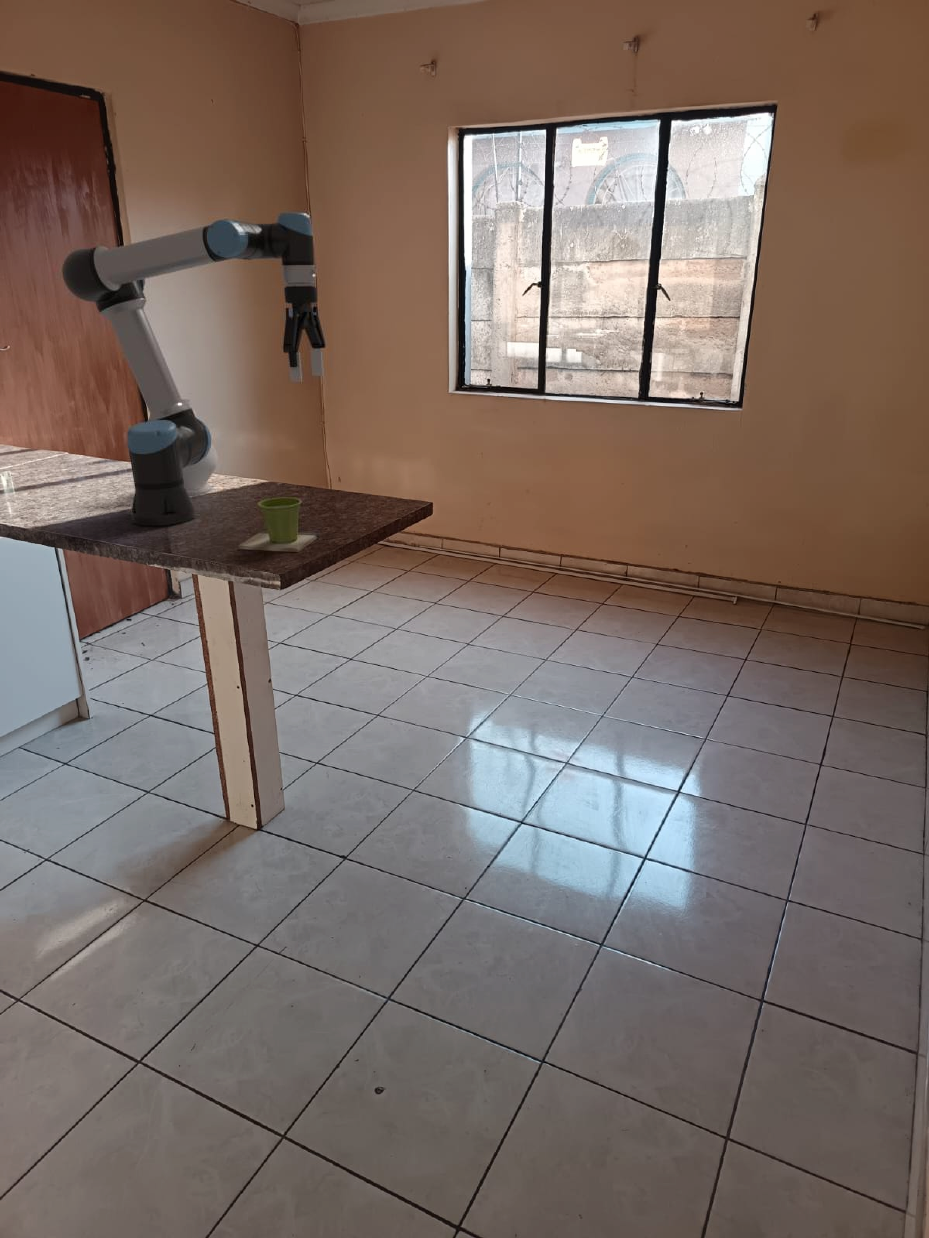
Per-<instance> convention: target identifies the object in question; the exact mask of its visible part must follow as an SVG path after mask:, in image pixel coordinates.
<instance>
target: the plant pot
mask: <svg viewBox="0 0 929 1238" xmlns="http://www.w3.org/2000/svg"><path fill="white" fill-rule="evenodd" d="M301 504H302V500H301V499H300V498H296V497H288V496H287V497H283V496H282V497H275V498H272V497H271V498H268V499H263V500H261V501H259V502H258V503H257V506H258V507H260V510H261V513H262V514H263V517H264V518H263V519H264V521H265V522H264V523H265V526H266V531H268V535H269V538H270V541H271V542H274V541H275V542H277V543H288V542H291V541H292V540H297V538H298V532H299V530H298V529H299V510H300V508H301V506H300V505H301Z"/></svg>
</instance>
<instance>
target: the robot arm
mask: <svg viewBox="0 0 929 1238" xmlns="http://www.w3.org/2000/svg"><path fill="white" fill-rule="evenodd" d="M314 250H315V249H314V234H313V228H312V220H311V216H310V215H309V214H308V213H305V212H282V213H279V214H278V216H277V222H273V223H252V222H245V221H240V220H235V219H230V218H224V219H223V218H222V219H218V220H215V221H213V222H212V223H211V224H209V225H204V226H201V227H197V228H193V229H191V228H190V229H188V230H187V229H186V230H184V231H181V232H180V231H179V232H176V233H172V234H170V233H169V234H167V235H162V236H158V237H154V238H150V239H146V240H142V241H138V242H133V243H130V244H125V245H120V246H117V247H113V248H108V247H106V246H103V245H100V246H96V247H91V248H81V249H80V248H79V249H75V250H74V251H72V252H71V253H69V254H68V255H67V256H66V257H65V259H64V261H63V263H62V268H61V272H62V273H61V275H62V279H63V282H64V284H65V286H66V288H67V289H68V290H69V291H70V292H71V293H72V294H73V295H74V296H75V297H77V298H78V299H79V300H83V301H86V302H91V303H93V302H94V303H95V306H96V308H97V310H98V312H99V315H100V316H102V317H104V318H106V319H108V320H109V323H111V327H112V329H113V331H114V333H115V335H116V337H117V340H118V342H119V345H120V347H121V350H122V351H123V354H124V357H125V358H126V361H127V363H128V366H129V368H130V370H131V372H132V375H133V376H134V379H135V382H136V385H137V386H138V388H139V390H140V393H141V395H142V398H143V400H144V403H145V404H146V407H147V410H148V411H149V412H148V413H149V418H148V420H147V421H144V422H140V423H139V422H138V423H136V424H134V425H133V426H131V427H129V429H128V430H127V433H126V437H127V439H126V440H127V442H126V443H127V444H126V445H127V446H126V447H127V449H128V453H129V454H128V455H129V459H130V460H129V461H130V466H131V473H132V478H133V485H134V497H133V501H132V505H131V506H132V507H131V519H132V522H133V523H134V524H135V525H138V526H144V527H159V526H160V527H161V526H163V527H164V526H171V525H176V524H181V523H186V522H188V521H191V520H193V519H195V517H196V515H197V514H196V508H195V505H194V503H193V501H192V499H191V497H190V496H189V495H188V493H187V491H186V488H185V486H184V479H183V472H182V468H185V467H187V466H190V465H193V464H196V463H198V462H199V461H200V460H202V459H203V458H204V457H205V456H206V455H207V454H208V452H209V450H210V447H211V443H212V435H211V432H210V429H209V427H208V425H206V424H205V422H203V421H202V420H201V419H199V418H198V417H197V418H196V417H195V415H194V412H193V410H194V409H193V408H192V407H191V406H190V405H189V406H188V405H186V404H184V403H183V402H182V399H183V398H181V395H180V392H179V390H178V387H177V386H176V383H175V381H174V378H173V376H172V374H171V371H170V369H169V367H168V364H167V361H166V360H165V356H164V355H163V353H162V350H161V348H160V345H159V343H158V341H157V339H156V338H157V337H156V336H155V333H154V331H153V329H152V326H151V324H150V321H149V319H148V316H147V315H146V312H145V309H144V308H145V305H146V303H147V298H146V296H145V293H144V290H145V288H144V287H145V285H146V279H149V278H154V277H159V276H161V275H162V276H163V275H166V274H171V273H175V272H180V271H183V270H188V269H193V268H195V267H196V268H197V267H201V266H204V265H209V264H213V263H219V262H224V261H229V260H232V259H233V260H234V259H237V260H244V261H245V260H248V261H249V260H250V261H251V260H263V259H265V260H266V259H280V260H281V265H282V266H281V268H282V282H283V284H284V285H286V286H285V287H284V289H283V290H284V291H283V292H284V302H285V303H286V304H291V307H286V308H285V323H284V325H285V326H284V332H283V333H284V334H283V343H282V344H283V345H282V349H283V353H284V354H287V357H288V367H289V379H290V382H292V383H293V382H295V383H296V382H297V383H299V382H301V383H302V382H303V373H302V372H303V371H302V361H301V360H302V359H301V352H299V348H300V345H301V340H302V335H303V331H305V333H306V336H307V339H308V341H309V343H310V346H311V348H310V350H309V351H310V362H311V374H312V375H311V376H312V377H314V376H315V377H316V376H317V377H323V376H325V375H324V363H323V350H322V349H325V348H326V341H325V337H324V332H323V329H322V324H321V320H320V316H319V310H318V306H316V305H315V306H313V305H312V304H316V303H318V291H317V290H318V289H317V287H316V286H314V284H316V282H317V281H316V280H317V279H316V278H317V277H316V274H317V270H316V268H315V256H314V254H315V251H314ZM192 409H193V410H192ZM133 523H132V524H133Z"/></svg>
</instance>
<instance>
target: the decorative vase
mask: <svg viewBox="0 0 929 1238" xmlns="http://www.w3.org/2000/svg"><path fill="white" fill-rule="evenodd" d="M181 399H182V402H183V403H184V404H186V405H188V406H190V405H191V404H192V402H193V401H192V399H183V398H181ZM192 410H193V412H194V415H195V417H196V418H197V419H198V413H197V412H196V411H195V409H193V408H192ZM218 463H219V457H218V452H217V450H216V448H215V446H214V445H213V443H212V442H211V447H210V450H209V452H208V454H207V455H206V456H205V457H204V458H203V459H202V460H200V461H199V462H198V463H196V464H193V465H190V466H187V467H185V468H182V472H183V479H184V486H185V488H186V491H187V493H188V495H189V497H190V496H197V495H198V496H199V495H202V494H207V493H209V492H211V491H213V486H212V485H210V484H206V483H207V482H208V481H209V479H210V478H211V476H212V475H213V473H214V471H215V470H216V468H217V466H218Z"/></svg>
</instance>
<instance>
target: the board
mask: <svg viewBox="0 0 929 1238" xmlns="http://www.w3.org/2000/svg"><path fill="white" fill-rule="evenodd" d="M318 538H320V534H319V532H318V533H317V532H299V531H298V538H297V540H292V541H291V542H288V543H277V542H275V541H274V542H271V541H270V538H269V535H268V530H261V531H260V532H258V533H257V534H255V535H253V536H252V537H250V538H248V539H247V540H246V541H244V542H242V543H240V544H239V545H238V550H251V551H252V550H253V551H269V552H270V551H271V552H288V553H289V552H292V553H299V552H300V551H302V550H303V549H305V548H306V547H307V546H309V545H310V544H312V543H313V542H314V541H315V540H317V539H318Z"/></svg>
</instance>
